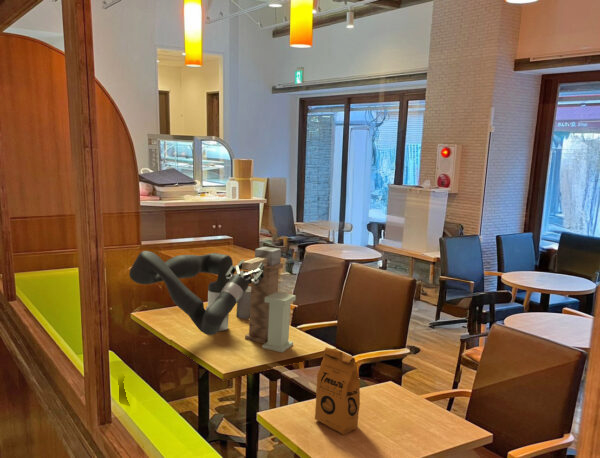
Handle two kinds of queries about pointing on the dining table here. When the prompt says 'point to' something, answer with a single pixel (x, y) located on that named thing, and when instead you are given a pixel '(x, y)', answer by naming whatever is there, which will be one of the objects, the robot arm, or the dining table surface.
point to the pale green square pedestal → (279, 321)
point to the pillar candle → (244, 305)
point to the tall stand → (262, 303)
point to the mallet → (263, 258)
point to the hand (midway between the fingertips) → (253, 263)
